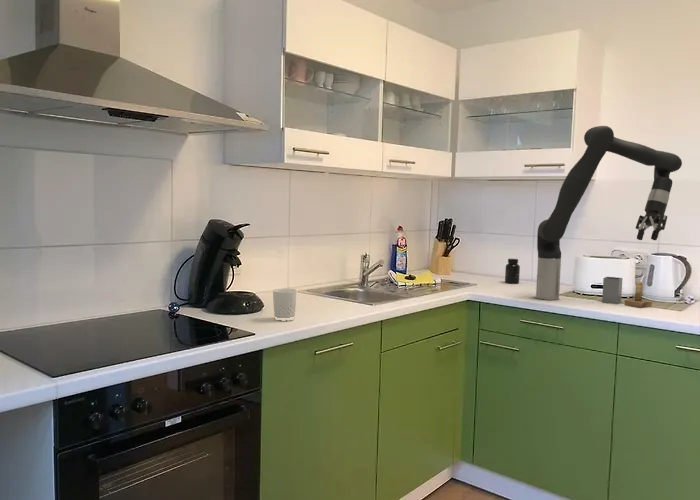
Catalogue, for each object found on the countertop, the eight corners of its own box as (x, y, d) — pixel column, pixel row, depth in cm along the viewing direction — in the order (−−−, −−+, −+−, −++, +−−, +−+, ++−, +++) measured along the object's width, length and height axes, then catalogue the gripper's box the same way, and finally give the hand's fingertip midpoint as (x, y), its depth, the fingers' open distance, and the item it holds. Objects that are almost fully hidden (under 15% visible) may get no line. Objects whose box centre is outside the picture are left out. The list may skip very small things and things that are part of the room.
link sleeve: (602, 302, 241) (603, 278, 240) (605, 300, 246) (606, 276, 245) (617, 304, 237) (619, 279, 236) (621, 302, 242) (622, 278, 241)
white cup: (280, 323, 194) (280, 293, 193) (268, 318, 201) (268, 289, 200) (300, 320, 199) (300, 291, 198) (288, 316, 205) (288, 287, 204)
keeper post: (640, 308, 229) (642, 283, 228) (624, 305, 235) (625, 280, 234) (651, 306, 233) (653, 282, 232) (635, 303, 239) (636, 279, 238)
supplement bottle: (519, 284, 287) (520, 259, 285) (505, 283, 288) (506, 259, 287) (518, 282, 293) (519, 258, 292) (504, 281, 295) (505, 257, 294)
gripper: (637, 200, 248) (627, 237, 247) (661, 198, 234) (650, 236, 233) (652, 206, 249) (642, 242, 249) (677, 204, 235) (666, 242, 235)
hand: (646, 239), depth 241 cm, fingers open, 8 cm apart
